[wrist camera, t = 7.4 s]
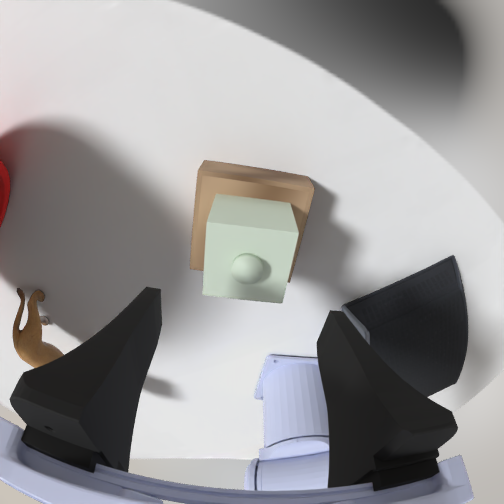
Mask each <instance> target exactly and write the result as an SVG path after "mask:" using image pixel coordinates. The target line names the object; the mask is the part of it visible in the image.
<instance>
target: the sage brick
mask: <svg viewBox="0 0 504 504" xmlns="http://www.w3.org/2000/svg"><path fill="white" fill-rule="evenodd" d="M298 235H299V232H298V228H297V225H296V221H295V218H294V214H293V211H292V207H291V204H290V203H287V202H280V201H272V200H265V199H257V198H249V197H240V196H232V195H223V194H216V195H215V198H214V201H213V204H212V207H211V210H210V213H209V216H208V219H207V225H206V240H205V256H204V274H203V295H206V296H215V297H223V298H232V299H241V300H251V301H261V302H271V303H282V302H283V298H284V294H285V290H286V286H287V282H288V278H289V274H290V269H291V265H292V261H293V257H294V252H295V248H296V244H297V239H298Z"/></svg>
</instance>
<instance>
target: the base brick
mask: <svg viewBox="0 0 504 504" xmlns="http://www.w3.org/2000/svg"><path fill="white" fill-rule="evenodd" d="M314 190H315V188H314V186H313V184H312V183H311V181H310V179H309V177H308V176H303V175H297V174H292V173H286V172H281V171H275V170H269V169H263V168H257V167H250V166H243V165H237V164H230V163H222V162H215V161H207V160H204V161H203V163H202V165H201V166H200V168H199V169H198V174H197V184H196V194H195V205H194V217H193V229H192V242H191V257H190V269H194V270H201V271H204V256H205V240H206V225H207V219H208V216H209V213H210V210H211V207H212V204H213V201H214V198H215V195H216V194H223V195H232V196H240V197H249V198H257V199H265V200H272V201H280V202H287V203H290V204H291V207H292V211H293V214H294V218H295V221H296V225H297V228H298V232H299V235H298V239H297V244H296V248H295V252H294V257H293V261H292V265H291V269H290V274H289V278H288V282H289V283H290V279H291V276H292V272H293V269H294V265H295V262H296V258H297V254H298V251H299V247H300V243H301V240H302V236H303V232H304V228H305V225H306V221H307V217H308V213H309V209H310V205H311V201H312V197H313V194H314Z"/></svg>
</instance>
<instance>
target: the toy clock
mask: <svg viewBox="0 0 504 504" xmlns="http://www.w3.org/2000/svg"><path fill="white" fill-rule="evenodd" d="M9 194H10V178H9V174H8V170H7V168H6V167H5V165H4V164H3V162H2V161H1V160H0V227H1V224H2V221H3V219H4V216H5V212H6V208H7V205H8V200H9Z"/></svg>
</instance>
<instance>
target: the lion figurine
mask: <svg viewBox="0 0 504 504" xmlns="http://www.w3.org/2000/svg"><path fill="white" fill-rule="evenodd" d="M17 293H18V295H19V297H20V299H21V304H20V307H19V310H18V312H17V315H16V318H15V321H14V326H13V342H14V347H15V349H16V351H17V353H18V355H19V357H20V358H21V359H22V360H24V361H25V362H27V363H28V364H30V365H31V366H33V367H34V368H37V367H40V366H42V365H45V364H47V363H49V362H51V361H53V360H55V359H58V358H59V357H61V356H63V355H64V354H63V353H62V352H61V351H60V350H59V349H58V348H56V347H55V346H53V345H51V344H49V343H46V342H43V341H42V324H43V325H48V323H49V321H48V319H47V318H46V317H44V316H39V312H38V308H37V300H38V301H40V302H43V301H44V294H43V293H42V292H41V291H39V290H38V291H35V292H34V293H33V294H32V296H31V298H30V300H29V302H28V304H27V306H28V320H27V323H26V325H25V327H24V328H23V330H19V325H20V321H21V317H22V313H23V310H24V305H25V295H24V293H23V291H22V290H21V289H20V288H17ZM41 323H42V324H41Z"/></svg>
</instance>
